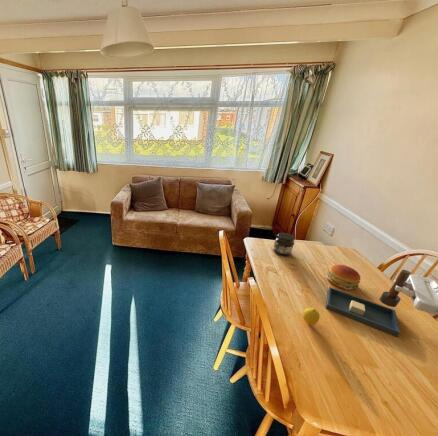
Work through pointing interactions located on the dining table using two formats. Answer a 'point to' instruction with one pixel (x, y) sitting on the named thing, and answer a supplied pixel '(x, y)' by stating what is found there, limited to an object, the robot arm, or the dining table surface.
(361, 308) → the cream block
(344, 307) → the tray
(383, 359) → the dining table surface
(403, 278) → the brush
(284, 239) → the supplement container
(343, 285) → the burger
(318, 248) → the dining table surface
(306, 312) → the lemon
